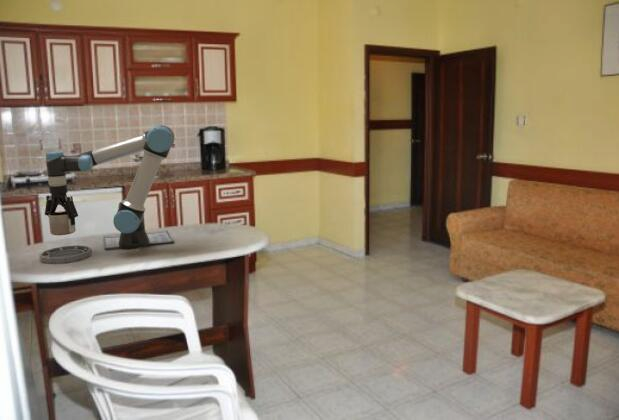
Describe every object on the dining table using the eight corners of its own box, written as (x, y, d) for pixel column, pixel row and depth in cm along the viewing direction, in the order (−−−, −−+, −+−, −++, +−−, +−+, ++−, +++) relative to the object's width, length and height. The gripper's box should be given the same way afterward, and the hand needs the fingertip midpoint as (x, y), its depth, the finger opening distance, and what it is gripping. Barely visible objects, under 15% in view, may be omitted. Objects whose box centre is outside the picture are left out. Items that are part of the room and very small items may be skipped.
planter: (65, 236, 240) (63, 215, 238) (45, 235, 242) (42, 215, 240) (80, 230, 250) (78, 211, 249) (60, 229, 253) (58, 210, 251)
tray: (101, 252, 255) (100, 247, 254) (65, 265, 235) (65, 260, 234) (66, 248, 263) (66, 243, 262) (29, 261, 243) (29, 255, 242)
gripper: (83, 184, 241) (88, 230, 245) (45, 182, 249) (50, 227, 254) (70, 187, 234) (76, 234, 239) (32, 185, 243) (38, 230, 247)
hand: (63, 230), depth 246 cm, fingers closed on planter, 11 cm apart
